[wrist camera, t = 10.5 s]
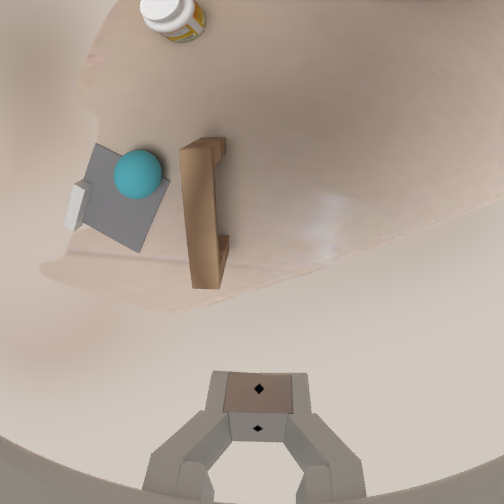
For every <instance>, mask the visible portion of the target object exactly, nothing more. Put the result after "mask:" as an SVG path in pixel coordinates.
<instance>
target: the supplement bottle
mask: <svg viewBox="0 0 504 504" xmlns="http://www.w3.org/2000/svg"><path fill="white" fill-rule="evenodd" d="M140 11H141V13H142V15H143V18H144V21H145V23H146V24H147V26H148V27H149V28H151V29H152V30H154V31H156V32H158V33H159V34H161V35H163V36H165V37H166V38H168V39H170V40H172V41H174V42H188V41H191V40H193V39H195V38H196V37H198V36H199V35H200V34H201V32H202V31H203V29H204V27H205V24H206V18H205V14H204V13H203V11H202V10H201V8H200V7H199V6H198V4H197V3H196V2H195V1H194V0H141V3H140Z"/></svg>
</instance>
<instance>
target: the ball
mask: <svg viewBox="0 0 504 504" xmlns="http://www.w3.org/2000/svg"><path fill="white" fill-rule="evenodd" d="M161 177H162V170H161V166H160V163H159V161H158V160H157V158H156V157H155V156H154V155H152V154H151V153H149V152H147V151H143V150H135V151H131V152H129V153H127V154H125V155H124V156H122V157H121V158H120V159H119V161H118V162H117V164H116V166H115V169H114V182H115V185H116V187H117V189H118V190H119V192H120V193H121V194H123V195H124V196H126V197H128V198H131V199H142V198H146V197H148V196H150V195H151V194H152V193H153V192H154V191H155V190H156V189H157V188H158V186H159V184H160V182H161Z"/></svg>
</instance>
